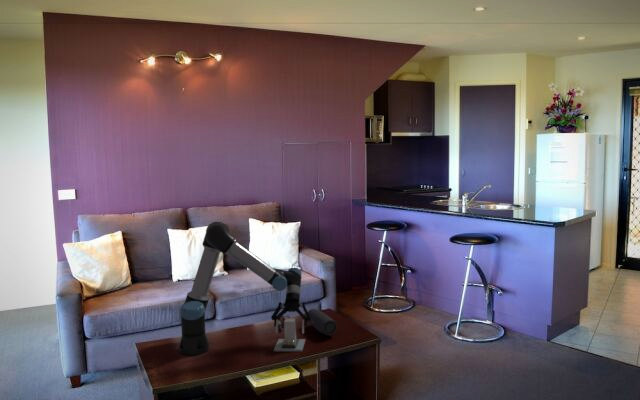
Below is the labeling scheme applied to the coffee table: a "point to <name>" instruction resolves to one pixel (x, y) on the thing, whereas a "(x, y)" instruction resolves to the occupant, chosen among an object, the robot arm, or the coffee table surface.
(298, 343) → the board
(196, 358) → the coffee table surface
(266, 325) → the coffee table surface
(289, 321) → the plug block
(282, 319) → the walkie-talkie
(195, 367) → the coffee table surface
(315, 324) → the bluetooth speaker
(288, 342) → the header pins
